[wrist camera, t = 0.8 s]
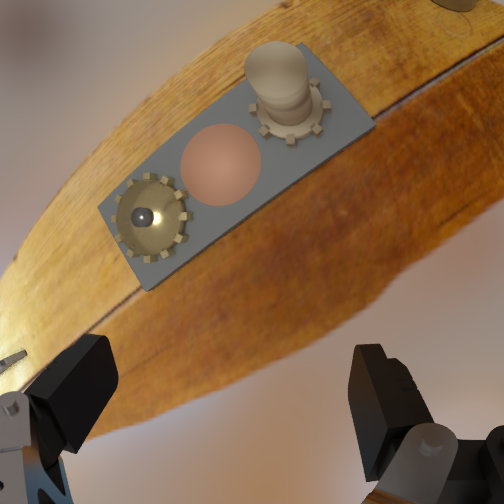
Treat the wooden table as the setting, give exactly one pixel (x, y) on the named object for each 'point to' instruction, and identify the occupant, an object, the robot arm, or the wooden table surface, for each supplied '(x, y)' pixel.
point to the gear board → (237, 166)
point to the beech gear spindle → (284, 93)
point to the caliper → (11, 360)
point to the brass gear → (151, 217)
